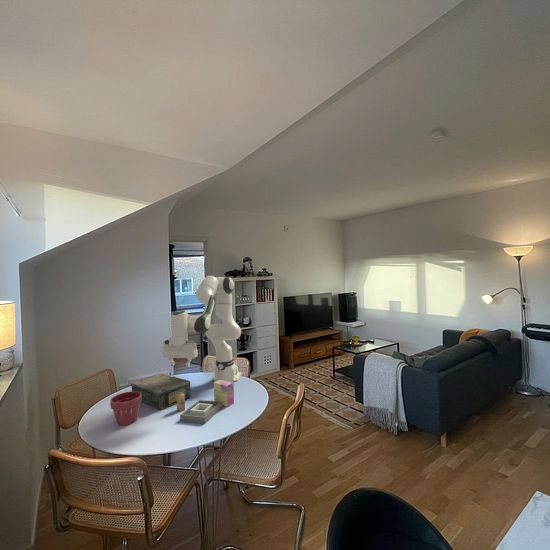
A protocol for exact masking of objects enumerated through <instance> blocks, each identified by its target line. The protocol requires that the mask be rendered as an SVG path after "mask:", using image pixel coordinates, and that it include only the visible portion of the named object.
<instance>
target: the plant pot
mask: <svg viewBox="0 0 550 550" xmlns="http://www.w3.org/2000/svg"><path fill="white" fill-rule="evenodd" d="M141 401H142V395H141V393H140V392H138V391H132V390H130V391H125V392H122V393H119V394H116V395H115V396H113V397H111V398H110V402H109V404H110V409H111V410H112V411H113V415H114V418H115V421H116V423H117V425H118V426H119V427H125V426H129V425H132V424H134V423H135V422H137V420H138V418H139V410H140V405H141V403H142V402H141Z"/></svg>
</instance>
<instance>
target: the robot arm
mask: <svg viewBox="0 0 550 550" xmlns="http://www.w3.org/2000/svg"><path fill="white" fill-rule="evenodd" d="M234 289H235V281H234V279H233V278H232V277H230V276H218V277H215V276H214V275H207V276H206V277H204V278H203V280H202V281H201V282H200V284H199V285H198V287H197V288H196V292H195V296H196V299H197V301H199V303H201V304H203V305H205V306H204V309H203V312H202V313H201V314H196V315H193V314H188V312H187V310H182V309H181V310H176V311H174V312H172V313H171V317H170V330H171V333H170V334H171V335H170V338H167V339H165V340H164V339H163V341H162V344H163V346H162V356H163V358H168V360H169V363H170V366H172V367H174V366H175V365H176V361H174V360H173V359H187V362H186V363H185V367H190V366H191V362H192V360H194V359H196V358H198V356H199V354H198V346H197V345H198V343H197V342H196V341H194V340H189V333H197V334H198V333H199V334H205V335H206V337H207V338H208V339H209V340H210V341H211V343H212V344H213V346H214V348H215V367H214V373H213V374H214V375H213V376H214V377H212V380H213V381H214V382H216V381H218V380H224V381H228V382H232V383H235V382H238V381H239V380H240V379H241V376H242V374H243V373H242V372H241V371H239V367H238V366H237V365H236V364H235V360H236V358H235V357H233V348H232V346H231V345H229V344H228V343H227V342H226V341H235V340H238V339H239V338H240V337H241V334H242V328H241V327H240V326H239V324H238V323H237V322H236V321H235V319H234V317H233V295H232V292H233V290H234ZM216 294H217V297H215V295H216ZM214 309H215V314H216V317H218V318H219V319H220V320H221V321H222V323H213V324H212V317H213V314H214Z"/></svg>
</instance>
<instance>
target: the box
mask: <svg viewBox="0 0 550 550" xmlns="http://www.w3.org/2000/svg"><path fill="white" fill-rule="evenodd" d="M234 383H235V382H228V381H224V380H218V381H216V382H215V381H214V382H213V401H218V402H222V407H223V406H224V407H226V408H229V407H230V406H232V405H233V404H235V389H234V388H235V387H234V386H235V385H234Z"/></svg>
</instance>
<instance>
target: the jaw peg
mask: <svg viewBox="0 0 550 550" xmlns="http://www.w3.org/2000/svg"><path fill="white" fill-rule="evenodd" d="M185 400H186V399H185V398H184V394H178V395H177V404H176V407H177V409H176V410H177V412H184V411H186V406H185V405H186V404H185Z"/></svg>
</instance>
